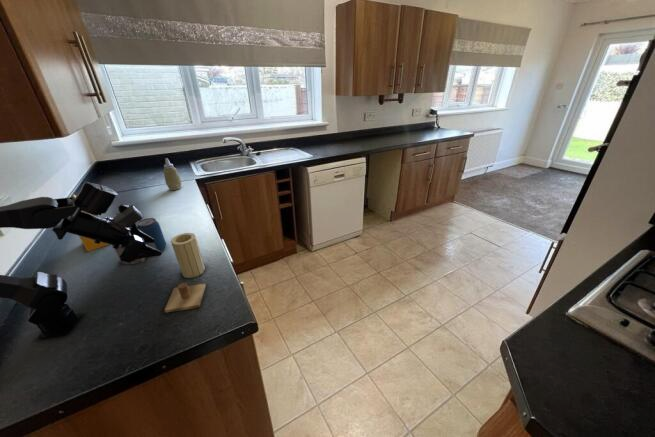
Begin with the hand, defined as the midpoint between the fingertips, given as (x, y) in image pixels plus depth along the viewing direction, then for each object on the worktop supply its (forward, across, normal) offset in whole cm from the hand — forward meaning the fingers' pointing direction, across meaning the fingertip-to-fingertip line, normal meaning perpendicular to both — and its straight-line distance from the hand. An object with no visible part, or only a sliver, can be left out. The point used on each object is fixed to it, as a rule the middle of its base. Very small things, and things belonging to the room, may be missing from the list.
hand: (157, 247), depth 80 cm
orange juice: (-2, +44, +20) cm, 49 cm away
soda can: (+10, +23, +9) cm, 27 cm away
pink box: (+4, +21, +14) cm, 26 cm away
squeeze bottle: (+26, +87, -8) cm, 92 cm away
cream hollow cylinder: (+14, 0, +4) cm, 15 cm away
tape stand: (+10, -12, +8) cm, 18 cm away
